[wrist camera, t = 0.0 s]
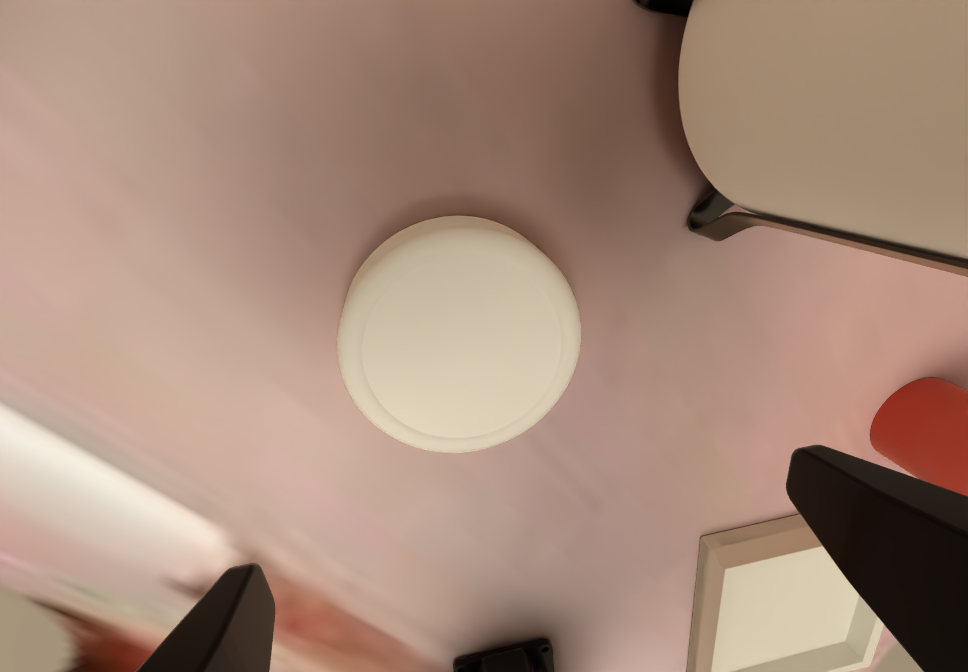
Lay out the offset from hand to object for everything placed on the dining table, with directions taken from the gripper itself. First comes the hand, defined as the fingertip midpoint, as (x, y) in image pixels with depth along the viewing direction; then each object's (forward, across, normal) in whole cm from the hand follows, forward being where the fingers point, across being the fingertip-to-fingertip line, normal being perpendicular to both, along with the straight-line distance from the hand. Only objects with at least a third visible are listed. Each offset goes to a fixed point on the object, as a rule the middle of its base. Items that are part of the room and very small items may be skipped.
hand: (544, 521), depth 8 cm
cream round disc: (+15, 0, +2) cm, 15 cm away
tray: (+15, -20, +26) cm, 36 cm away
